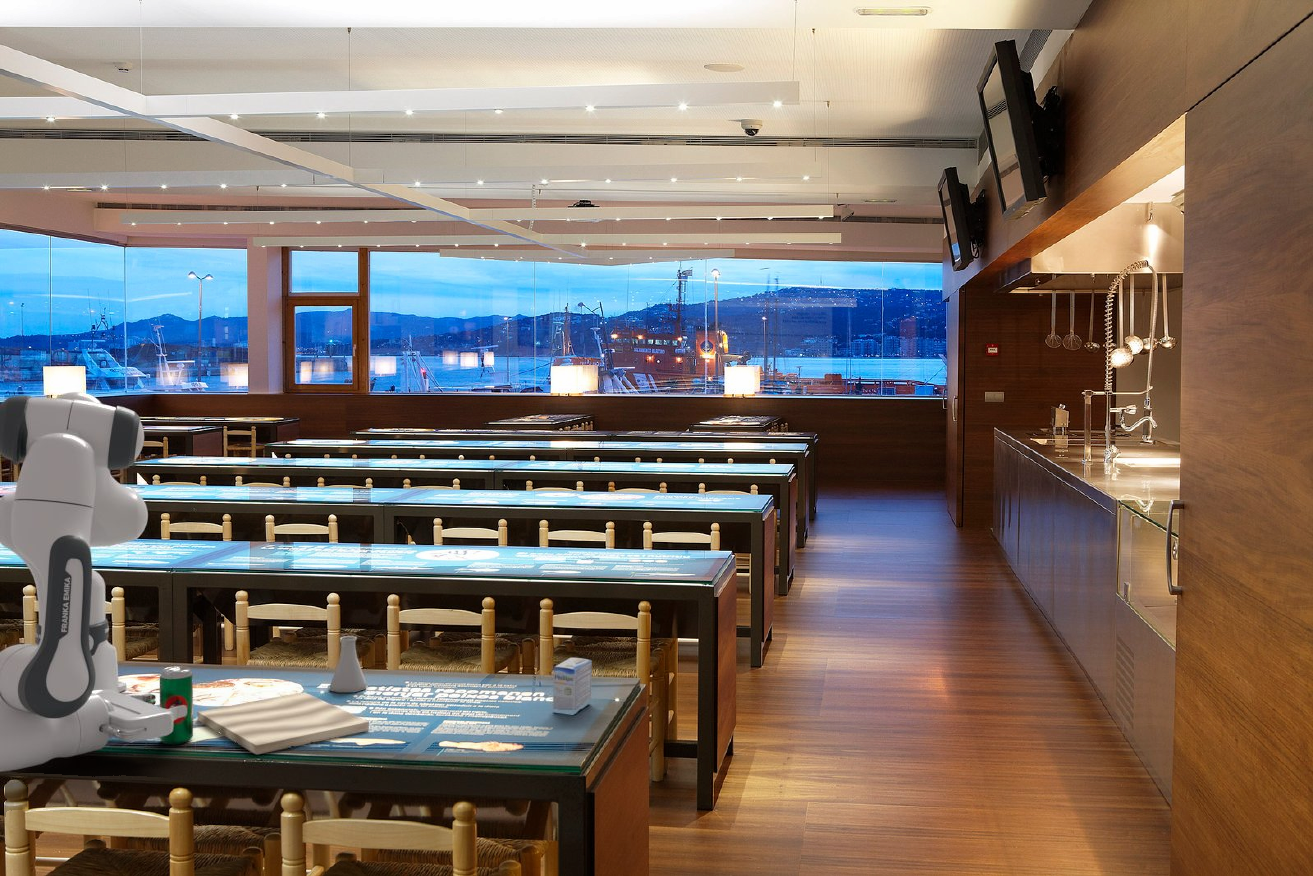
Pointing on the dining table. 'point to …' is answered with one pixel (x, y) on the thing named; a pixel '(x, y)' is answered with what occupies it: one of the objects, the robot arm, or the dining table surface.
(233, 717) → the birch board
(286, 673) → the dining table surface
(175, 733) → the soda can
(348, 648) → the flask
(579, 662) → the medicine box
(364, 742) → the dining table surface
